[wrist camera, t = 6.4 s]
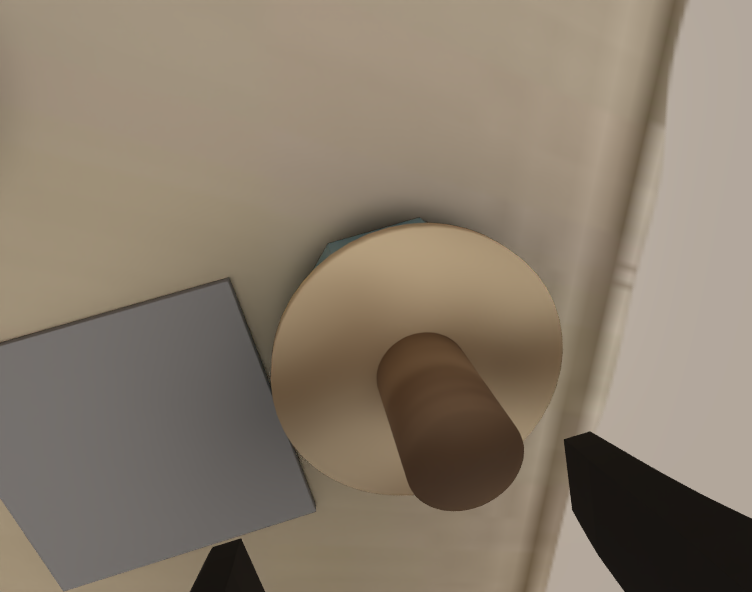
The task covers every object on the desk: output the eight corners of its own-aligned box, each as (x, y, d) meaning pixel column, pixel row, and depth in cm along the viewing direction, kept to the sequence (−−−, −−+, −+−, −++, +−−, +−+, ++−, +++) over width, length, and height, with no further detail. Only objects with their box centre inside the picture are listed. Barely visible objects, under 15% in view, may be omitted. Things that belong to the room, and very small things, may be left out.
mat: (315, 504, 23) (316, 511, 22) (67, 583, 22) (63, 591, 22) (229, 277, 19) (227, 280, 18) (-79, 365, 18) (-87, 371, 18)
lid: (561, 438, 20) (651, 547, 15) (314, 510, 19) (323, 649, 14) (537, 189, 16) (643, 226, 11) (231, 267, 15) (206, 341, 11)
